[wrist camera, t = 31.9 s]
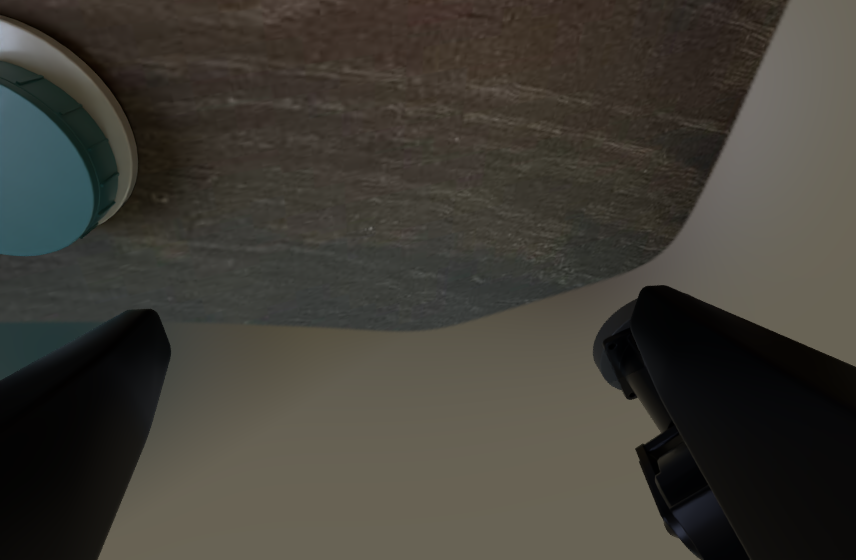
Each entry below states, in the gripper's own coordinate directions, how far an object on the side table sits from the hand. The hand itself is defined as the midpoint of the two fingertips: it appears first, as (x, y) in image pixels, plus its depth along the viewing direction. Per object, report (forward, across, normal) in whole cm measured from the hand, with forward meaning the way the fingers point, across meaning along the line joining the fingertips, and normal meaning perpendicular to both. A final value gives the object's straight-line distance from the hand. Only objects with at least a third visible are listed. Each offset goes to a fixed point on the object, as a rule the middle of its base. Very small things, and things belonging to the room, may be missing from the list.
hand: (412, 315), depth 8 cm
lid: (+10, +14, 0) cm, 17 cm away
